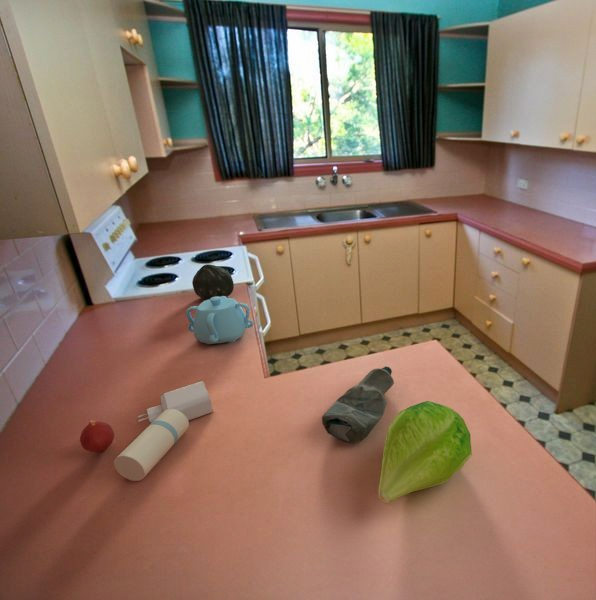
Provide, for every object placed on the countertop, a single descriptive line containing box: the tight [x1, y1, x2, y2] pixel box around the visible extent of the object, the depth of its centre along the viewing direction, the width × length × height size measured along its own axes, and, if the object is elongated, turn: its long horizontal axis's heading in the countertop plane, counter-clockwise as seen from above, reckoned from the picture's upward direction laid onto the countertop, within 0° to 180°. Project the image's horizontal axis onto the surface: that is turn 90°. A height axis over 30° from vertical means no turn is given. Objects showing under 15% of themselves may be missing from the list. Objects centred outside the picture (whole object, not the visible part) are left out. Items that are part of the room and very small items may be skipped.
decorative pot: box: [185, 296, 254, 345], centre depth 134 cm, size 16×16×14 cm
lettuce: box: [378, 400, 473, 504], centre depth 79 cm, size 15×22×15 cm
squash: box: [191, 263, 235, 302], centre depth 165 cm, size 14×15×15 cm
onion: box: [79, 420, 115, 453], centre depth 89 cm, size 6×6×8 cm
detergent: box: [321, 366, 395, 444], centre depth 99 cm, size 13×7×25 cm
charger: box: [137, 380, 214, 425], centre depth 100 cm, size 5×9×15 cm
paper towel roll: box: [113, 409, 190, 482], centre depth 88 cm, size 6×6×14 cm
